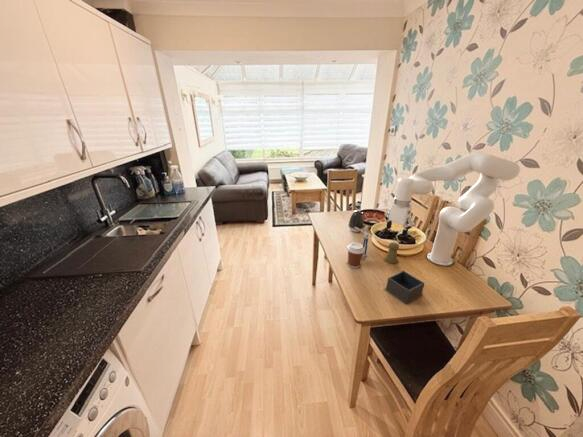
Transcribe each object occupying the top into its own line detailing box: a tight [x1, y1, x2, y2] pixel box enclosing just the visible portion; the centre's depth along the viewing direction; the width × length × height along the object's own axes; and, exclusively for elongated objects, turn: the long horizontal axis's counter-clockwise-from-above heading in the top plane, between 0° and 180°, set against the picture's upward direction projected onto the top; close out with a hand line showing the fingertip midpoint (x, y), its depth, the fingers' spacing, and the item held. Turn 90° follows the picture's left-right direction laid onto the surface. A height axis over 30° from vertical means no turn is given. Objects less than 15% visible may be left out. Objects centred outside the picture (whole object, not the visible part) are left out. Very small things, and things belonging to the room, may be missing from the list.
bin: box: [385, 270, 425, 305], centre depth 110 cm, size 11×11×7 cm
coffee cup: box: [346, 242, 365, 269], centre depth 129 cm, size 9×9×12 cm
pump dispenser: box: [348, 210, 366, 233], centre depth 167 cm, size 10×10×15 cm
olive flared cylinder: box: [384, 241, 400, 264], centre depth 133 cm, size 6×6×11 cm
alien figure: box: [355, 225, 380, 259], centre depth 136 cm, size 20×5×19 cm, turn 30°
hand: (395, 232), depth 128 cm, fingers open, 9 cm apart
